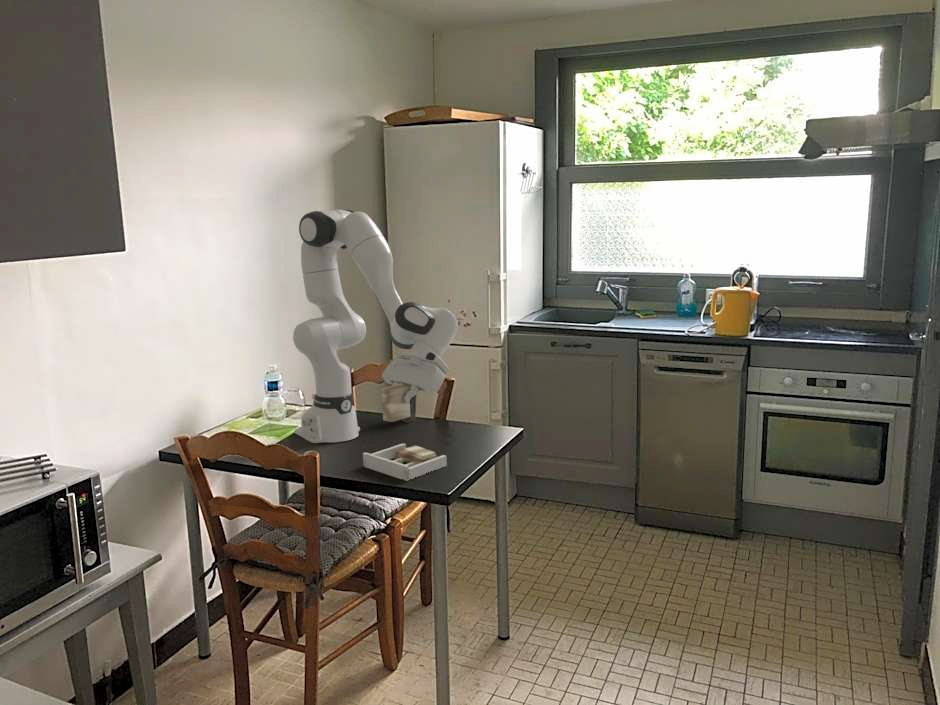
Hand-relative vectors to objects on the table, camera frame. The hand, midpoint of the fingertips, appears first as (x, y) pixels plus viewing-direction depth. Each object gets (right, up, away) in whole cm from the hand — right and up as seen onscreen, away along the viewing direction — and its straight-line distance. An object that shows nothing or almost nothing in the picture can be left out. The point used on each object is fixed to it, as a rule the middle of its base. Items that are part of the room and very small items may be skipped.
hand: (398, 399), depth 217 cm
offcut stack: (+5, -18, +8) cm, 21 cm away
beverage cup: (-1, -10, +50) cm, 51 cm away
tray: (+1, -19, +5) cm, 20 cm away
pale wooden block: (0, -5, 0) cm, 5 cm away
